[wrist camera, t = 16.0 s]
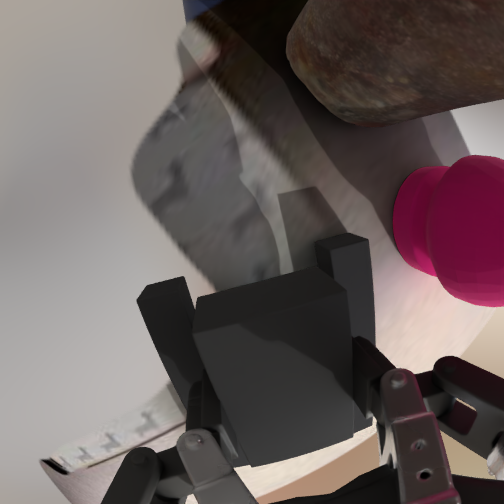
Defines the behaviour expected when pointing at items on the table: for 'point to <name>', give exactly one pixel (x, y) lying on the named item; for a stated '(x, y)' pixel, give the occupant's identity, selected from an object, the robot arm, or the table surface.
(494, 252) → the pepper mill
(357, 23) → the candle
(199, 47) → the table surface
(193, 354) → the black u-shaped piece
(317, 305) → the black block
